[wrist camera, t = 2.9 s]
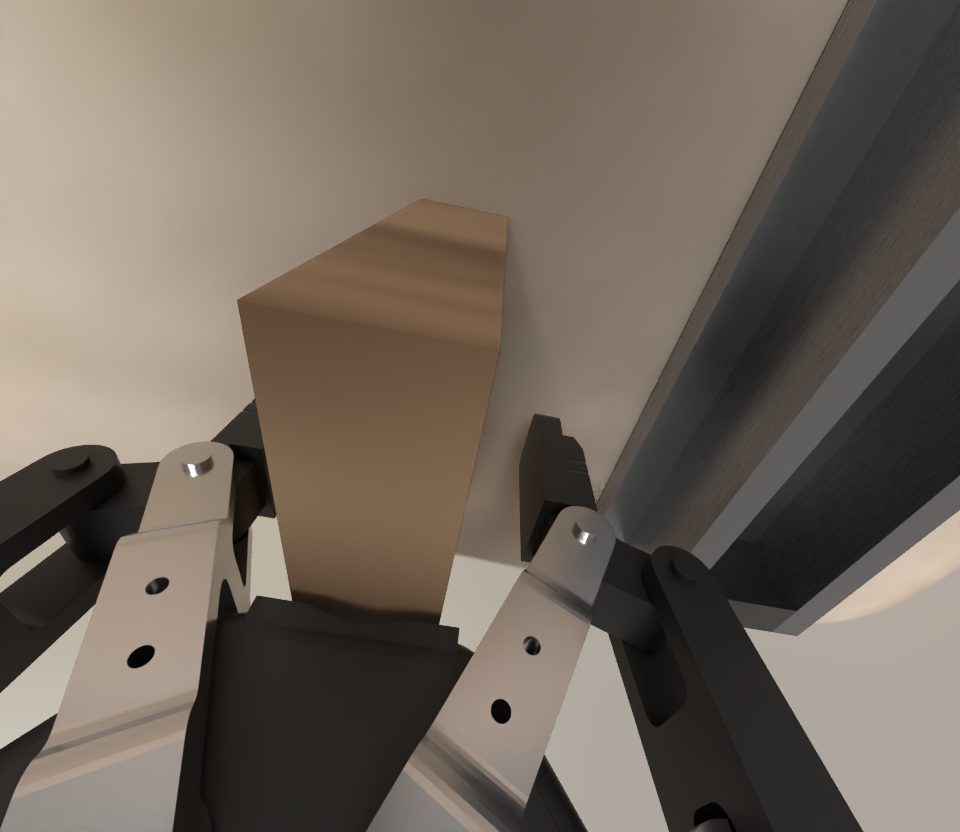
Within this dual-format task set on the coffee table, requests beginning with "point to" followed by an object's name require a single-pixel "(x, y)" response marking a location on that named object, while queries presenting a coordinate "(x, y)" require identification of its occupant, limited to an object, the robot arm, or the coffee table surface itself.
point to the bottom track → (821, 342)
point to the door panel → (378, 405)
